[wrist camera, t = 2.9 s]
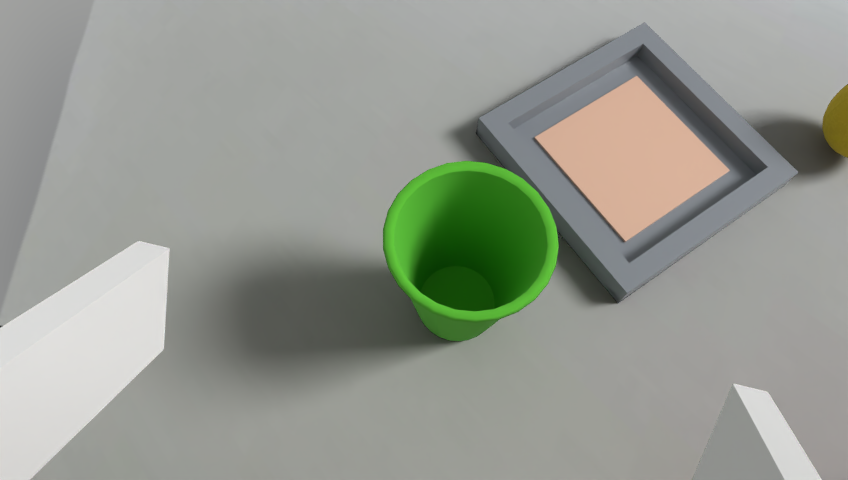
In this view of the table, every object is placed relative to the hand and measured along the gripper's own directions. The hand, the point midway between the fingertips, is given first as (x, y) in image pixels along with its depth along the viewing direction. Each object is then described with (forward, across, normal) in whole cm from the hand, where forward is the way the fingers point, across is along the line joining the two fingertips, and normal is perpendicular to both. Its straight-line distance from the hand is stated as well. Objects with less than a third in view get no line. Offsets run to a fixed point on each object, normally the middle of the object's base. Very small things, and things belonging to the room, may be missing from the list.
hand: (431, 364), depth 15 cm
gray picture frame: (+36, -10, +1) cm, 38 cm away
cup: (+27, 0, +11) cm, 29 cm away
